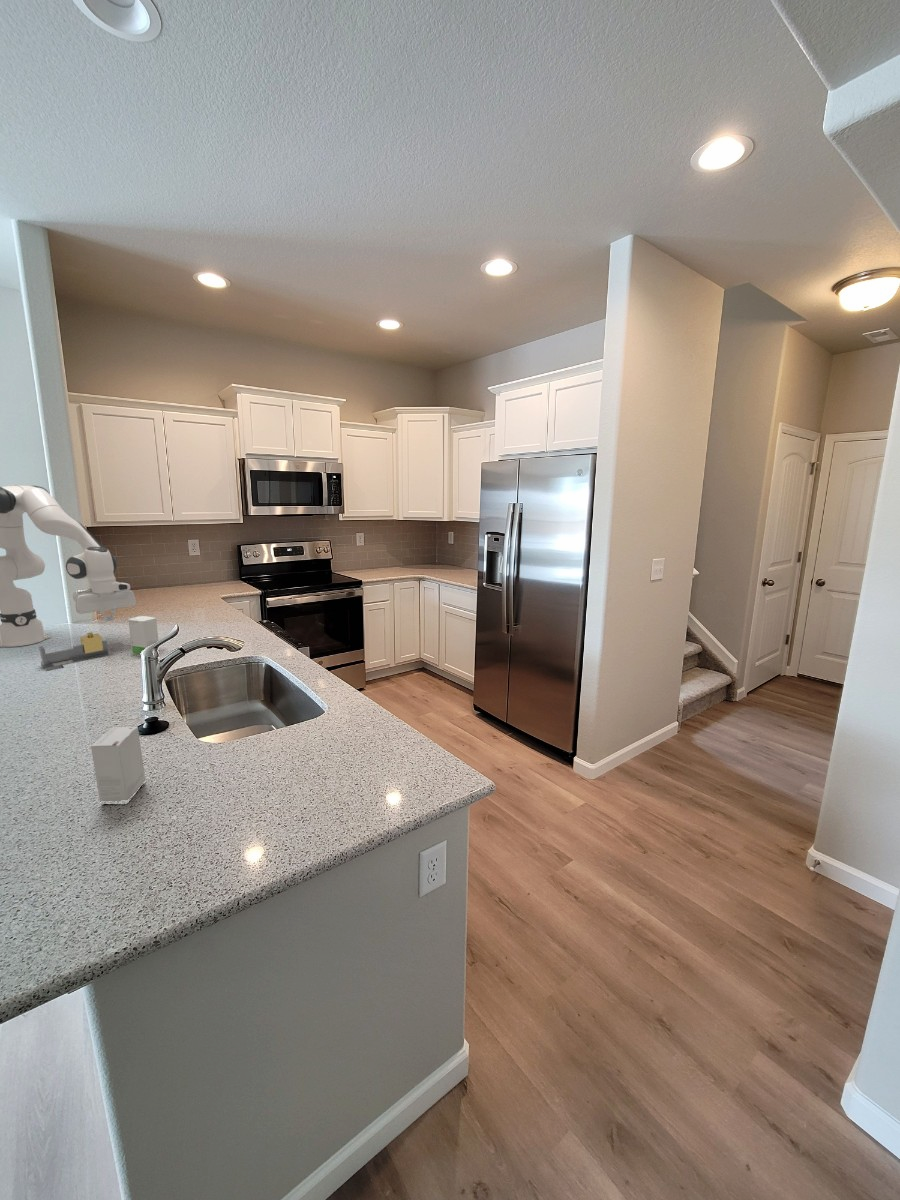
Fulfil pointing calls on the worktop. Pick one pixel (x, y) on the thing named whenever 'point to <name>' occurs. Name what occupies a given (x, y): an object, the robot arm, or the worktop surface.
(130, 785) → the skincare box
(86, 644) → the gold knobbed block
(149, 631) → the skincare box
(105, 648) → the rail
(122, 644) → the thin grey square plate
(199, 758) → the worktop surface
